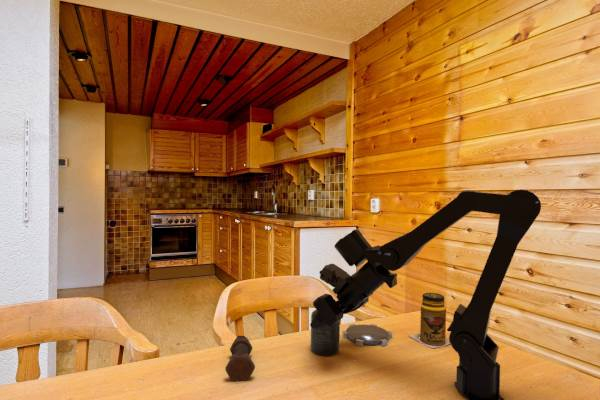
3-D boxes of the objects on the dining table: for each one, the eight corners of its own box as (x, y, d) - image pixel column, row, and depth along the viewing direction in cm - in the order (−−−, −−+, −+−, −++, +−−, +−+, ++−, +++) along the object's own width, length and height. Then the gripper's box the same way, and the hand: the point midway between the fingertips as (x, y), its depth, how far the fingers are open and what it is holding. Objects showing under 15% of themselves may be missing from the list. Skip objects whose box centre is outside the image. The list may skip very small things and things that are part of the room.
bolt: (244, 356, 86) (243, 388, 71) (226, 347, 85) (221, 377, 70) (257, 335, 86) (258, 362, 71) (238, 325, 86) (236, 350, 71)
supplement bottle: (319, 342, 90) (320, 294, 90) (344, 348, 86) (345, 299, 86) (305, 351, 84) (305, 301, 84) (331, 359, 81) (331, 306, 80)
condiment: (433, 349, 87) (434, 300, 87) (407, 336, 95) (408, 291, 94) (453, 343, 91) (454, 296, 90) (427, 332, 98) (428, 288, 98)
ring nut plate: (384, 328, 100) (385, 323, 100) (398, 346, 88) (398, 341, 88) (339, 328, 100) (339, 323, 100) (346, 346, 88) (346, 341, 88)
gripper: (357, 249, 91) (319, 286, 97) (321, 260, 75) (278, 303, 81) (387, 285, 87) (345, 321, 93) (355, 304, 71) (307, 346, 77)
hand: (320, 321), depth 86 cm, fingers open, 8 cm apart
